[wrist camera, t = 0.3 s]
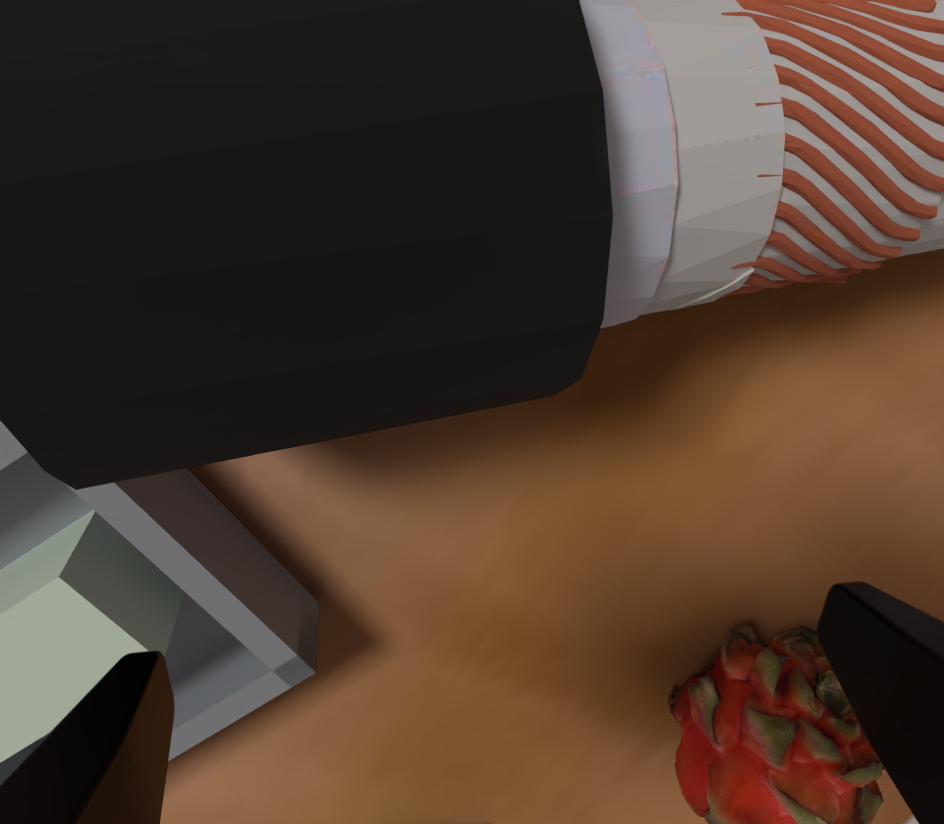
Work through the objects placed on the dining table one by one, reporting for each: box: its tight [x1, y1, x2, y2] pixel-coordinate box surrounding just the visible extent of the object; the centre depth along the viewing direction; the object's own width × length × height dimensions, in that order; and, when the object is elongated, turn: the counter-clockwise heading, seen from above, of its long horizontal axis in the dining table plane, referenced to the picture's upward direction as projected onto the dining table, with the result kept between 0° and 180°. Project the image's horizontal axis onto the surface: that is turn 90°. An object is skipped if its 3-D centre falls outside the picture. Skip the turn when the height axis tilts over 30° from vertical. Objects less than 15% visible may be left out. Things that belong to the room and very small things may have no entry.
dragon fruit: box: [668, 624, 885, 824], centre depth 29 cm, size 8×8×12 cm
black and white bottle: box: [0, 0, 944, 490], centre depth 18 cm, size 10×34×10 cm, turn 92°
